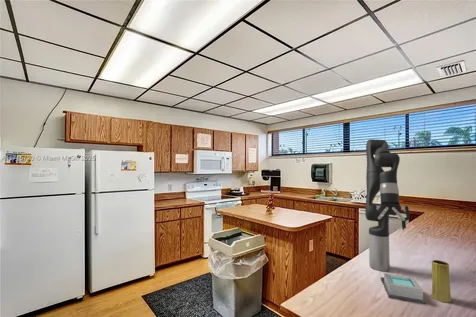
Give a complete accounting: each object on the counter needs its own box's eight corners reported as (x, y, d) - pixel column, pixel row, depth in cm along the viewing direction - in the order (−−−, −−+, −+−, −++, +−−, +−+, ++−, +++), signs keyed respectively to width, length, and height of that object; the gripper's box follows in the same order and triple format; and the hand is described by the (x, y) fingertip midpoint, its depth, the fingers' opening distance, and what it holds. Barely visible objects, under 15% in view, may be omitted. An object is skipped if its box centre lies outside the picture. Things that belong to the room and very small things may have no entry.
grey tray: (380, 279, 111) (380, 268, 111) (411, 284, 106) (410, 272, 107) (388, 297, 95) (388, 284, 95) (425, 303, 91) (424, 290, 91)
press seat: (389, 280, 103) (389, 278, 103) (409, 283, 101) (409, 281, 101) (393, 288, 97) (393, 285, 97) (415, 291, 94) (415, 289, 94)
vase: (442, 294, 98) (440, 259, 98) (456, 302, 92) (454, 265, 92) (427, 294, 97) (426, 259, 98) (440, 303, 91) (439, 265, 92)
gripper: (407, 194, 111) (411, 230, 107) (373, 194, 119) (375, 227, 115) (407, 192, 105) (411, 230, 101) (371, 192, 113) (373, 227, 109)
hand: (391, 228), depth 108 cm, fingers open, 8 cm apart
